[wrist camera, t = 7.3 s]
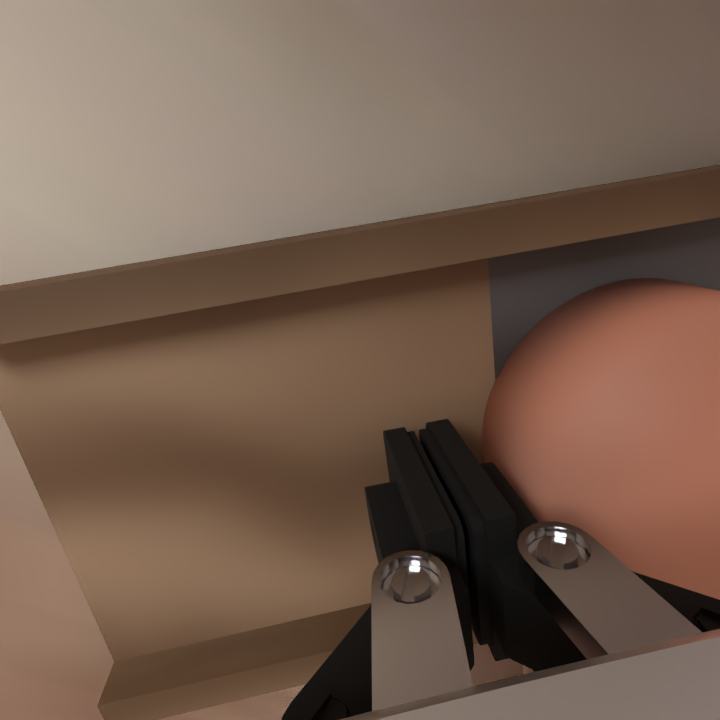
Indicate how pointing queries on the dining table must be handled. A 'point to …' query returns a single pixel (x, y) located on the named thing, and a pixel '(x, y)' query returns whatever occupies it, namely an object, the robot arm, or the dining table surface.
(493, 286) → the trap lane
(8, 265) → the dining table surface
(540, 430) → the salmon rounded disc
